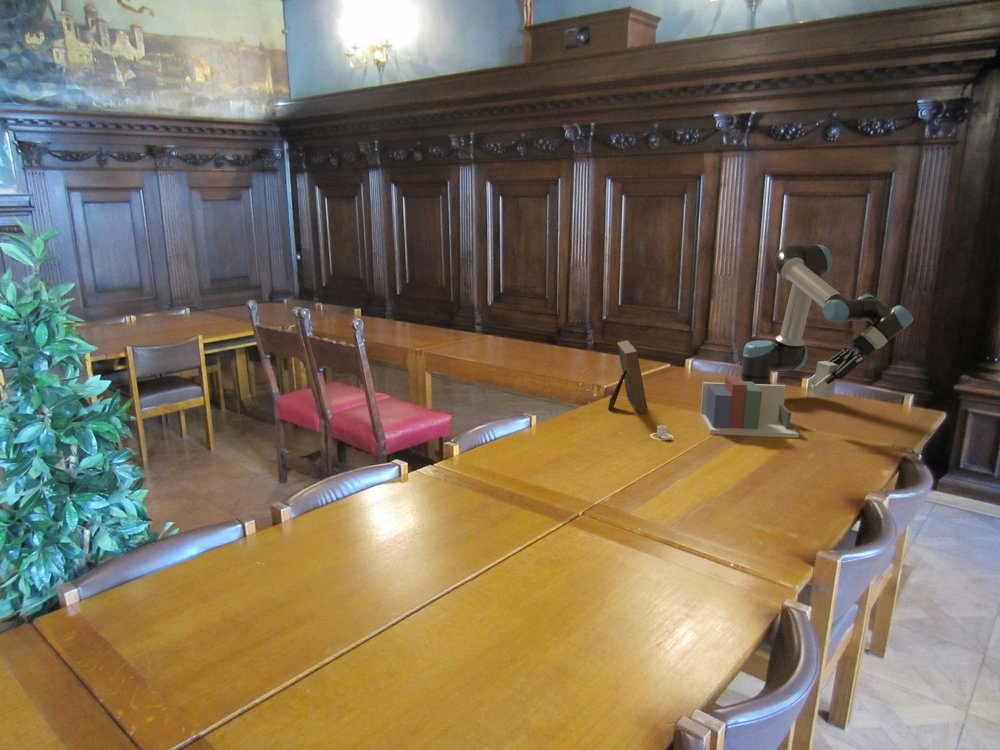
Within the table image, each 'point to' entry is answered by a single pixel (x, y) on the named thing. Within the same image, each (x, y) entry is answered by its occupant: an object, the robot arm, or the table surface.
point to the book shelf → (765, 413)
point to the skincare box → (821, 372)
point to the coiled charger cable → (662, 433)
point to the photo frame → (630, 378)
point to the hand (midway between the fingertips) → (814, 385)
